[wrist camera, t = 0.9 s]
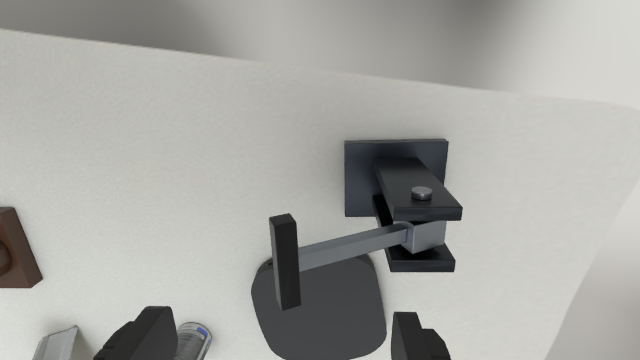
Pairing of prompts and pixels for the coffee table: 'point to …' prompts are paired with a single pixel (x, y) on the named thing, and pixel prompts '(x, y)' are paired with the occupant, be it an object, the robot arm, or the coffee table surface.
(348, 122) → the coffee table surface
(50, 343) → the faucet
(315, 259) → the lever
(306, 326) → the media streaming box
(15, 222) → the button box
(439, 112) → the coffee table surface
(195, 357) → the pill bottle
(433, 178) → the bracket
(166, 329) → the robot arm
